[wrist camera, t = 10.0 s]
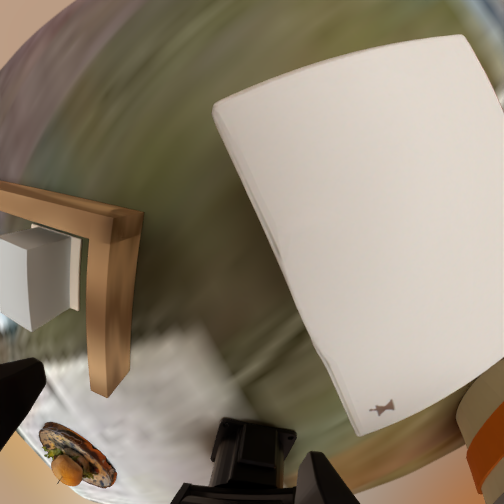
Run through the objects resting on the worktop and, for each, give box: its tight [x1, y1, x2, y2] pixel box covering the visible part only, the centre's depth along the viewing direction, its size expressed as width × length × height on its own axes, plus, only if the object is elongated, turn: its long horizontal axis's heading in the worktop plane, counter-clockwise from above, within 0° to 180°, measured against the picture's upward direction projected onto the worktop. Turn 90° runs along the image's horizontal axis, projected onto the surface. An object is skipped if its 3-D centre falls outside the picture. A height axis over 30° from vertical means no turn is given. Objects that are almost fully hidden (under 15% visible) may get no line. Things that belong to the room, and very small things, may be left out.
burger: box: [39, 422, 117, 488], centre depth 22 cm, size 12×12×8 cm
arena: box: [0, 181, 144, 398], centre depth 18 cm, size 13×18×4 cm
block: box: [0, 227, 72, 332], centre depth 17 cm, size 4×6×5 cm, turn 167°
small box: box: [212, 35, 504, 436], centre depth 11 cm, size 8×6×13 cm
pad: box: [31, 224, 82, 311], centre depth 20 cm, size 6×6×1 cm
